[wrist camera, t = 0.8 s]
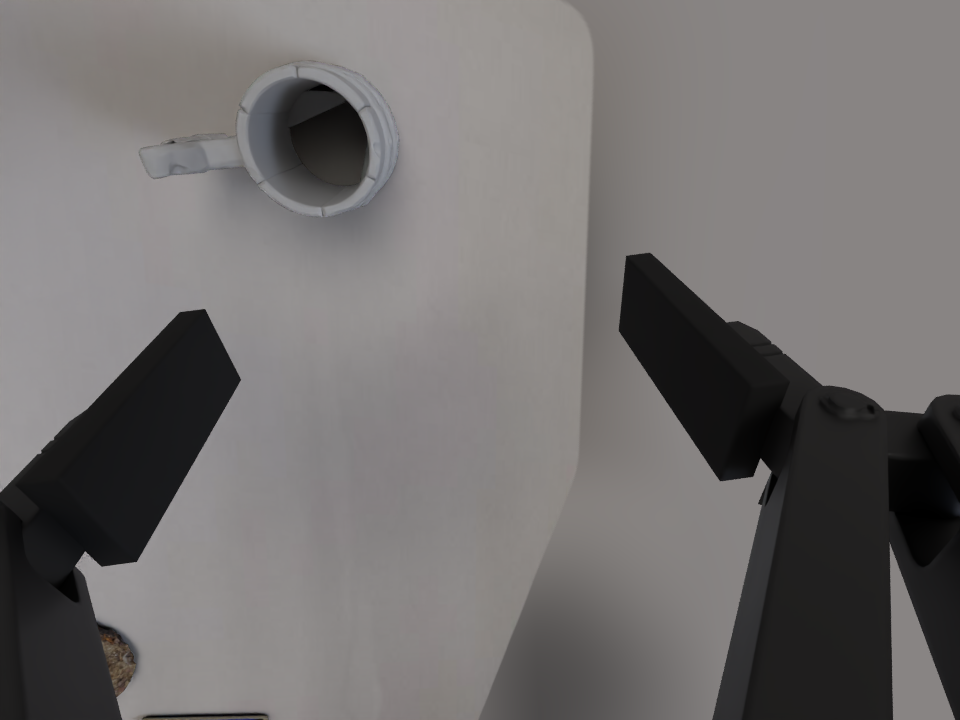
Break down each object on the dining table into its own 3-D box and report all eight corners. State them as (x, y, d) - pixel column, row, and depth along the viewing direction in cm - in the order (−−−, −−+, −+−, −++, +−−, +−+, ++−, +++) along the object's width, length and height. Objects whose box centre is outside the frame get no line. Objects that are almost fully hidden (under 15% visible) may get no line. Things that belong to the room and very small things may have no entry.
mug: (408, 192, 31) (407, 232, 21) (233, 211, 30) (140, 262, 20) (388, 61, 27) (375, 29, 17) (188, 78, 26) (44, 54, 16)
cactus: (15, 589, 43) (-80, 704, 35) (170, 646, 51) (122, 752, 42) (-73, 671, 47) (-179, 793, 39) (83, 713, 54) (22, 823, 46)
